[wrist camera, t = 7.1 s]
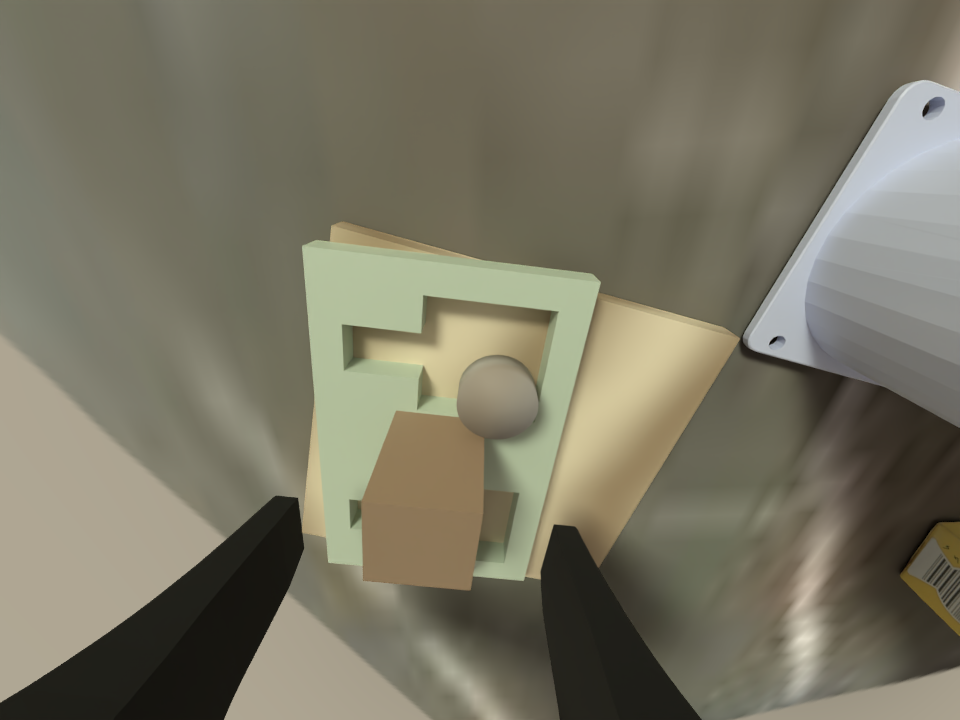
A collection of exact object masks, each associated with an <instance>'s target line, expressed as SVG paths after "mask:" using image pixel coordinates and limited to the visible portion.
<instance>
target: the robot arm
mask: <svg viewBox="0 0 960 720" xmlns="http://www.w3.org/2000/svg"><path fill="white" fill-rule="evenodd" d="M928 102H929V107H930V108H929V110H928V112H927V114H926V115H925V116H924V117H923V116H922V111H923V109H924V106H925V105H926V104H927V103H928ZM776 336H778V338H777V340H776V341H775V342H774V343H773V344H771V345H769V343H770V341H771V340H772V339H773V338H774V337H776ZM743 343H744V344H745V346H747V347H748V348H750V349H751V350H753V351H755V352H758V353H762V354H766V355H769V356H773V357H777V358H780V359H784V360H788V361H791V362H795V363H799V364H802V365H806V366H810V367H813V368H817V369H821V370H824V371H828V372H831V373H835V374H839V375H842V376H846V377H850V378H853V379H857V380H861V381H864V382H868V383H872V384H875V385H879V386H883V387H886V388H888V389H889V390H891V391H893V392H895V393H897V394H898V395H900V396H902V397H904V398H906V399H908V400H909V401H911V402H913V403H915V404H917V405H919V406H920V407H922V408H924V409H926V410H928V411H930V412H931V413H933V414H935V415H937V416H939V417H940V418H942V419H944V420H946V421H948V422H950V423H951V424H953V425H955V426H957V427H959V428H960V92H959V91H956V90H954V89H951V88H948V87H946V86H943V85H940V84H937V83H935V82H932V81H927V80H921V81H916V82H911V83H908V84H905V85H903V86H901V87H900V88H899V89H897V90H896V91H895V92H894V93H893V94H892V95H891V97H890V98H889V99H888V101H887V103H886V104H885V106H884V107H883V109H882V111H881V112H880V114H879V115H878V117H877V119H876V120H875V122H874V124H873V125H872V127H871V128H870V130H869V132H868V133H867V135H866V137H865V138H864V140H863V141H862V143H861V145H860V146H859V148H858V149H857V151H856V153H855V154H854V156H853V158H852V159H851V161H850V162H849V164H848V166H847V167H846V169H845V170H844V172H843V174H842V175H841V177H840V179H839V180H838V182H837V183H836V185H835V187H834V188H833V190H832V192H831V193H830V195H829V196H828V198H827V200H826V201H825V203H824V204H823V206H822V208H821V209H820V211H819V213H818V214H817V216H816V217H815V219H814V221H813V222H812V224H811V226H810V227H809V229H808V230H807V232H806V234H805V235H804V237H803V238H802V240H801V242H800V243H799V245H798V247H797V248H796V250H795V251H794V253H793V255H792V256H791V258H790V260H789V261H788V263H787V264H786V266H785V268H784V269H783V271H782V272H781V274H780V276H779V277H778V279H777V281H776V282H775V284H774V285H773V287H772V289H771V290H770V292H769V294H768V295H767V297H766V298H765V300H764V302H763V303H762V305H761V306H760V308H759V310H758V311H757V313H756V315H755V316H754V318H753V319H752V321H751V323H750V324H749V326H748V327H747V329H746V331H745V333H744V335H743ZM303 550H304V543H303V535H302V527H301V519H300V511H299V502H298V498H294V497H284V496H275V497H273V498H272V499H271V500H270V501H269V502H268V503H267V504H265V505H264V506H263V507H262V508H261V509H260V510H259V511H258V512H257V513H255V514H254V515H253V516H252V517H251V518H250V519H249V520H248V521H247V522H245V523H244V524H243V525H242V526H241V527H240V528H239V529H238V530H236V531H235V532H234V533H233V534H232V535H231V536H230V537H229V538H227V539H226V540H225V541H224V542H223V543H222V544H220V545H219V546H218V547H217V548H216V549H215V550H213V551H212V552H211V553H210V554H209V555H208V556H207V557H205V558H204V559H203V560H202V561H201V562H200V563H198V564H197V565H196V566H195V567H193V568H192V569H191V570H190V571H188V572H187V573H186V574H185V575H184V576H182V577H181V578H180V579H179V580H177V581H176V582H175V583H173V584H172V585H171V586H170V587H168V588H167V589H166V590H165V591H163V592H162V593H161V594H160V595H158V596H157V597H156V598H154V599H153V600H152V601H151V602H150V603H148V604H147V605H145V606H144V607H143V608H141V609H140V610H139V611H137V612H136V613H135V614H133V615H132V616H131V617H129V618H128V619H127V620H125V621H124V622H122V623H121V624H119V625H118V626H117V627H115V628H114V629H112V630H111V631H110V632H108V633H107V634H106V635H104V636H103V637H101V638H100V639H98V640H97V641H95V642H94V643H93V644H91V645H89V646H88V647H87V648H85V649H83V650H82V651H80V652H79V653H78V654H76V655H75V656H73V657H72V658H70V659H69V660H67V661H66V662H64V663H63V664H61V665H60V666H58V667H57V668H55V669H54V670H52V671H50V672H49V673H47V674H46V675H44V676H43V677H41V678H40V679H38V680H37V681H35V682H33V683H32V684H30V685H29V686H27V687H25V688H24V689H22V690H21V691H19V692H18V693H16V694H14V695H12V696H11V697H9V698H7V699H6V700H4V701H2V702H1V703H0V720H224V718H225V716H226V713H227V711H228V708H229V706H230V704H231V702H232V700H233V697H234V695H235V693H236V691H237V689H238V687H239V685H240V683H241V681H242V679H243V677H244V675H245V673H246V671H247V668H248V667H249V665H250V663H251V661H252V659H253V657H254V655H255V653H256V651H257V649H258V647H259V645H260V644H261V642H262V640H263V638H264V635H265V634H266V632H267V630H268V628H269V626H270V624H271V622H272V620H273V618H274V616H275V614H276V612H277V610H278V608H279V606H280V604H281V602H282V600H283V598H284V596H285V594H286V592H287V590H288V588H289V586H290V584H291V581H292V579H293V576H294V574H295V571H296V569H297V566H298V563H299V560H300V558H301V555H302V552H303ZM540 573H541V592H542V607H543V616H544V622H545V629H546V635H547V641H548V647H549V653H550V660H551V666H552V672H553V678H554V684H555V690H556V696H557V702H558V709H559V716H560V720H702V719H701V718H700V717H699V716H698V714H697V713H696V712H695V711H694V709H693V708H692V707H691V705H690V704H689V703H688V702H687V700H686V699H685V698H684V696H683V695H682V694H681V693H680V691H679V690H678V689H677V687H676V686H675V685H674V683H673V682H672V681H671V679H670V678H669V677H668V675H667V674H666V673H665V671H664V670H663V668H662V667H661V666H660V664H659V663H658V661H657V660H656V659H655V657H654V656H653V654H652V653H651V651H650V650H649V649H648V647H647V646H646V644H645V643H644V641H643V640H642V638H641V637H640V635H639V634H638V632H637V631H636V629H635V628H634V626H633V625H632V623H631V622H630V620H629V618H628V617H627V615H626V614H625V612H624V611H623V609H622V607H621V606H620V604H619V602H618V601H617V599H616V597H615V596H614V594H613V592H612V591H611V589H610V588H609V586H608V584H607V582H606V581H605V579H604V577H603V576H602V574H601V572H600V570H599V568H598V567H597V565H596V563H595V561H594V559H593V558H592V556H591V554H590V552H589V550H588V548H587V546H586V545H585V543H584V541H583V539H582V537H581V535H580V533H579V531H578V529H577V528H576V527H575V526H567V525H557V524H554V525H553V529H552V532H551V536H550V539H549V543H548V546H547V550H546V553H545V557H544V560H543V564H542V568H541V571H540Z"/></svg>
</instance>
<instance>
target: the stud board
mask: <svg viewBox="0 0 960 720" xmlns="http://www.w3.org/2000/svg"><path fill="white" fill-rule="evenodd" d="M330 242H336V243H344V244H353V245H361V246H369V247H377V248H385V249H394V250H402V251H410V252H418V253H426V254H435V255H443V256H451V257H459V258H467V259H475V260H480V259H476V258H473V257H469V256H465V255H462V254H458V253H455V252H451V251H447V250H444V249H440V248H437V247H433V246H430V245H426V244H422V243H419V242H415V241H412V240H408V239H404V238H401V237H397V236H394V235H390V234H386V233H383V232H379V231H376V230H372V229H368V228H365V227H361V226H358V225H354V224H350V223H347V222H340V223H337V224H334V225H331V236H330ZM551 312H552V311H551V310H542V309H534V308H525V307H517V306H508V305H500V304H492V303H483V302H475V301H466V300H458V299H449V298H441V297H432V296H427V310H426V323H425V325H424V327H423V330H422V332H421V333H413V332H404V331H396V330H387V329H378V328H370V327H361V326H353V357H355V358H364V359H373V360H382V361H391V362H400V363H408V364H417V365H423V377H422V394H421V395H428V396H437V397H446V398H456V399H457V412H458V416H459V418H460V420H461V421H462V423H463V424H464V425H465V427H466V428H467V429H469V430H470V431H471V432H473V433H474V434H476V435H478V436H481V437H484V438H488V439H507V438H511V437H514V436H516V435H518V434H520V433H522V432H523V431H525V430H526V429H527V428H528V427H529V426H530V425H531V424H532V423H533V421H534V420H535V418H536V415H537V412H538V403H539V402H538V396H537V392H536V384H537V379H538V374H539V369H540V364H541V360H542V355H543V350H544V345H545V340H546V336H547V331H548V326H549V321H550V316H551ZM739 340H740V338H739V337H737V336H736V335H734V334H733V333H731V332H730V331H728V330H727V329H725V328H724V327H721V326H717V325H713V324H710V323H706V322H703V321H699V320H695V319H692V318H688V317H685V316H681V315H677V314H674V313H670V312H667V311H663V310H660V309H656V308H652V307H649V306H645V305H642V304H638V303H634V302H631V301H627V300H624V299H620V298H616V297H613V296H609V295H606V294H602V293H598V295H597V299H596V303H595V307H594V310H593V314H592V318H591V322H590V326H589V330H588V334H587V338H586V342H585V345H584V349H583V353H582V357H581V361H580V365H579V369H578V373H577V376H576V380H575V384H574V388H573V392H572V396H571V400H570V404H569V407H568V411H567V415H566V419H565V423H564V427H563V431H562V435H561V438H560V442H559V446H558V450H557V454H556V458H555V462H554V466H553V469H552V473H551V477H550V481H549V485H548V489H547V493H546V497H545V500H544V504H543V508H542V512H541V516H540V520H539V524H538V528H537V531H536V535H535V539H534V543H533V547H532V551H531V555H530V559H529V563H528V566H527V570H526V574H525V577H530V578H536V579H541V573H540V571H541V568H542V564H543V560H544V557H545V553H546V550H547V546H548V543H549V539H550V536H551V532H552V529H553V525H554V524H557V525H567V526H575V527H576V528H577V529H578V531H579V533H580V535H581V537H582V539H583V541H584V543H585V545H586V546H587V548H588V550H589V552H590V554H591V556H592V558H593V559H594V561H595V563H596V565H597V567H598V568H599V567H600V565H601V563H602V562H603V560H604V558H605V557H606V555H607V554H608V552H609V550H610V549H611V547H612V546H613V544H614V542H615V541H616V539H617V537H618V536H619V534H620V533H621V531H622V529H623V528H624V526H625V524H626V523H627V521H628V520H629V518H630V516H631V515H632V513H633V512H634V510H635V508H636V507H637V505H638V503H639V502H640V500H641V499H642V497H643V495H644V494H645V492H646V490H647V489H648V487H649V486H650V484H651V482H652V481H653V479H654V477H655V476H656V474H657V473H658V471H659V469H660V468H661V466H662V465H663V463H664V461H665V460H666V458H667V456H668V455H669V453H670V452H671V450H672V448H673V447H674V445H675V443H676V442H677V440H678V439H679V437H680V435H681V434H682V432H683V431H684V429H685V427H686V426H687V424H688V422H689V421H690V419H691V418H692V416H693V414H694V413H695V411H696V409H697V408H698V406H699V405H700V403H701V401H702V400H703V398H704V397H705V395H706V393H707V392H708V390H709V388H710V387H711V385H712V384H713V382H714V380H715V379H716V377H717V375H718V374H719V372H720V371H721V369H722V367H723V366H724V364H725V362H726V361H727V359H728V358H729V356H730V354H731V353H732V351H733V350H734V348H735V346H736V345H737V343H738V341H739ZM513 494H514V492H506V491H496V490H486V489H484V501H483V519H482V525H481V531H480V537H479V541H489V542H499V543H503V542H504V537H505V532H506V528H507V523H508V518H509V513H510V508H511V504H512V499H513ZM358 509H361V500H358ZM302 533H307V534H312V535H317V536H322V537H326V528H325V516H324V504H323V492H322V480H321V468H320V456H319V444H318V431H317V419H316V407H315V401H314V411H313V421H312V432H311V442H310V452H309V463H308V473H307V483H306V494H305V504H304V514H303V524H302ZM474 569H475V567H474Z"/></svg>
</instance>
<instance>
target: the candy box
mask: <svg viewBox="0 0 960 720" xmlns="http://www.w3.org/2000/svg"><path fill="white" fill-rule="evenodd" d="M900 577H901V578H902V579H903V580H904V581H905V582H906V584H907V585H908V586H909V587H910V588H911V589H912V590H913V591H915V593H916V594H917V595H918V596H919V597H920V598H921V599H922V600H923V601H924V602H925V603H926V604H927V605H928V606H929V607H931V608H932V609H933V610H934V612H935V613H936V614H937V615H938V616H939V617H941V618H942V619H943V620H944V621H945V622H946V623H947V625H948V626H949V627H950V628H951V629H953V630H954V631H955V632H956V633H957V634H958V635H959V636H960V522H940V523H937V524H936V525H935V527H934V528H933V529H932V530H931V531H930V533H929V534H928V536H927V537H926V539H925V540H924V541H923V543H922V544H921V545H920V547H919V548H918V549H917V551H916V552H915V554H914V555H913V556H912V558H911V559H910V561H909V562H908V564H907V565H906V567H905V568H904V570H903V571H902V572H901V573H900Z"/></svg>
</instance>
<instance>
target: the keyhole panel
mask: <svg viewBox="0 0 960 720" xmlns="http://www.w3.org/2000/svg"><path fill="white" fill-rule="evenodd" d="M302 250H303V262H304V274H305V286H306V298H307V310H308V322H309V334H310V347H311V359H312V371H313V383H314V395H315V407H316V419H317V431H318V444H319V456H320V468H321V480H322V492H323V504H324V516H325V528H326V541H327V553H328V563H338V564H349V565H359V566H363V581H372V582H383V583H394V584H404V585H415V586H426V587H437V588H448V589H459V590H470V591H471V585H472V579H473V576H477V577H488V578H498V579H509V580H520V581H524V578H525V574H526V570H527V566H528V563H529V559H530V555H531V551H532V547H533V543H534V539H535V535H536V531H537V528H538V524H539V520H540V516H541V512H542V508H543V504H544V500H545V497H546V493H547V489H548V485H549V481H550V477H551V473H552V469H553V466H554V462H555V458H556V454H557V450H558V446H559V442H560V438H561V435H562V431H563V427H564V423H565V419H566V415H567V411H568V407H569V404H570V400H571V396H572V392H573V388H574V384H575V380H576V376H577V373H578V369H579V365H580V361H581V357H582V353H583V349H584V345H585V342H586V338H587V334H588V330H589V326H590V322H591V318H592V314H593V310H594V307H595V303H596V299H597V295H598V291H599V287H600V283H601V282H600V281H599V280H598V279H597V278H596V277H595V276H594V275H593V274H590V273H582V272H574V271H565V270H557V269H549V268H541V267H533V266H525V265H516V264H508V263H500V262H492V261H484V260H475V259H467V258H459V257H451V256H443V255H435V254H426V253H418V252H410V251H402V250H394V249H385V248H377V247H369V246H361V245H353V244H344V243H336V242H328V241H320V240H315V241H313V242H311V243H308V244H306V245H303V246H302ZM427 296H432V297H441V298H449V299H458V300H466V301H475V302H483V303H492V304H500V305H508V306H517V307H525V308H534V309H542V310H551V311H552V312H551V316H550V321H549V326H548V331H547V336H546V340H545V345H544V350H543V355H542V360H541V364H540V369H539V374H538V379H537V384H536V392H537V396H538V402H539V403H538V412H537V415H536V418H535V420H534V421H533V423H532V424H531V425H530V426H529V427H528V428H527V429H526V430H525V431H523V432H522V433H520V434H518V435H516V436H514V437H511V438H507V439H488V438H484V437H481V436H478V435H476V434H474V433H473V432H471V431H470V430H469V429H467V428H466V427H465V425H464V424H463V423H462V421H461V420H460V418H459V416H458V412H457V399H456V398H446V397H437V396H428V395H421V394H422V377H423V365H417V364H408V363H400V362H391V361H382V360H373V359H364V358H355V357H353V326H361V327H370V328H378V329H387V330H396V331H404V332H413V333H421V332H422V330H423V327H424V325H425V323H426V310H427ZM484 489H486V490H496V491H506V492H514V494H513V499H512V504H511V508H510V513H509V518H508V523H507V528H506V532H505V537H504V542H503V543H499V542H489V541H479V537H480V531H481V525H482V519H483V501H484ZM358 500H361V509H358ZM474 567H475V569H474Z"/></svg>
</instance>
